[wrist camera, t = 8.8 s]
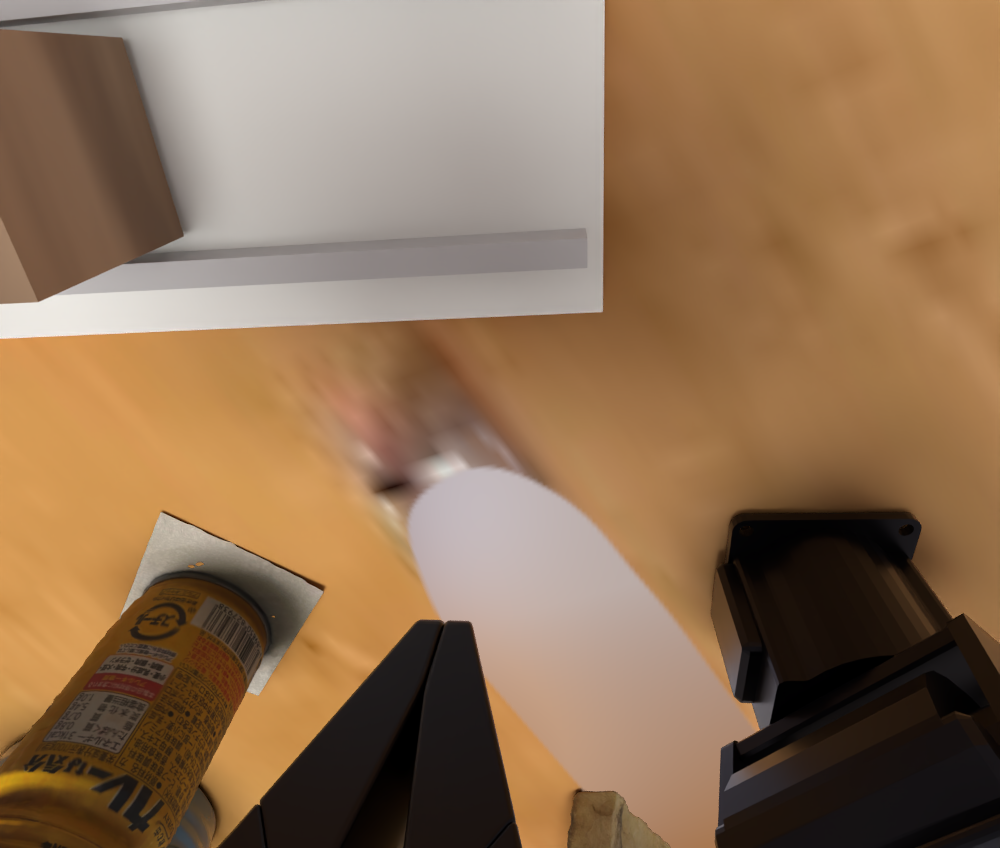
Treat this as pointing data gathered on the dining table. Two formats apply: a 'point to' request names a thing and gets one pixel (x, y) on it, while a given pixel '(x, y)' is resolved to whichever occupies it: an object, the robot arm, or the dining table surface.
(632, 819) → the rock
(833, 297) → the dining table surface
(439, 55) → the gauge base
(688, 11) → the dining table surface
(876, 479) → the dining table surface
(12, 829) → the condiment
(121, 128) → the brown cardboard cube
